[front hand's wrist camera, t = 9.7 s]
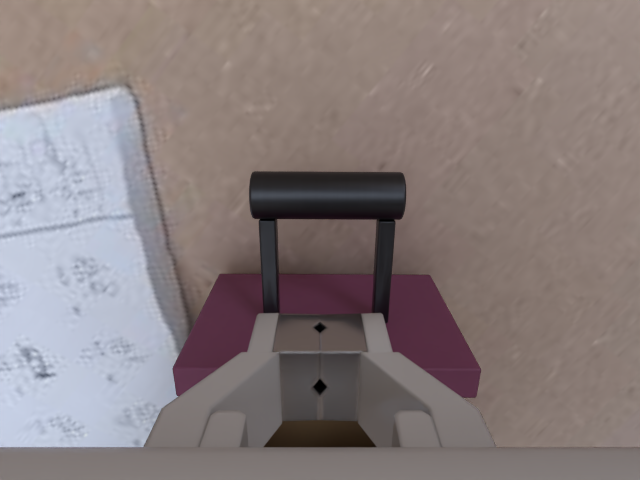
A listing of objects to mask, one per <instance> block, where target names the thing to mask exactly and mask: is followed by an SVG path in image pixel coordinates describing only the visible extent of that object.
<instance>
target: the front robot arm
mask: <svg viewBox="0 0 640 480" xmlns="http://www.w3.org/2000/svg"><path fill="white" fill-rule="evenodd" d="M311 420H328V421H358V424H359V425H360V426H361V428H362V429H363V430H364V431H365V433H366V434H367V435H368V436H369V438H370V439H371V440H372V442H373V443H374V444H375V445H376V447H264V446H265V444H266V443H267V442H268V441H269V439H270V438H271V437H272V436H273V434H274V433H275V432H276V431H277V429H278V428H279V427H280V426H281V424H282V421H311ZM0 480H640V447H496V445H495V443H494V441H493V439H492V436H491V434H490V432H489V430H488V428H487V426H486V424H485V422H484V419H483V417H482V415H481V413H480V411H479V409H478V408H476V407H475V406H474V405H472V404H471V403H469V402H468V401H467V400H465V399H464V398H462V397H461V396H460V395H458V394H457V393H455V392H454V391H453V390H451V389H450V388H448V387H447V386H446V385H444V384H443V383H441V382H440V381H439V380H437V379H436V378H434V377H433V376H432V375H430V374H429V373H427V372H426V371H425V370H423V369H422V368H420V367H419V366H418V365H416V364H415V363H413V362H412V361H411V360H409V359H408V358H406V357H405V356H403V355H402V354H401V353H399V352H393V351H392V347H391V343H390V340H389V336H388V332H387V328H386V324H385V321H384V317H383V314H382V313H363V314H361V313H360V314H292V313H280V314H279V313H259V314H258V315H257V317H256V320H255V324H254V328H253V332H252V336H251V339H250V343H249V347H248V351H247V352H241V353H239V354H238V355H237V356H235V357H234V358H232V359H231V360H229V361H228V362H227V363H225V364H224V365H222V366H221V367H220V368H218V369H217V370H215V371H214V372H213V373H211V374H210V375H208V376H207V377H206V378H204V379H203V380H201V381H200V382H199V383H197V384H196V385H194V386H193V387H191V388H190V389H189V390H187V391H186V392H184V393H183V394H182V395H180V396H179V397H177V398H176V399H175V400H173V401H172V402H170V403H169V404H168V405H166V406H165V407H163V408H162V409H161V411H160V414H159V416H158V418H157V420H156V422H155V424H154V426H153V428H152V430H151V432H150V435H149V437H148V439H147V441H146V443H145V445H144V447H0Z"/></svg>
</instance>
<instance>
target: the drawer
mask: <svg viewBox="0 0 640 480" xmlns="http://www.w3.org/2000/svg"><path fill="white" fill-rule="evenodd" d="M249 201H250V211H251V215H252V217H253V218H254V219H260V220H259V236H260V256H261V274H219V276H218V278H217V280H216V282H215V284H214V286H213V288H212V290H211V292H210V294H209V296H208V298H207V300H206V302H205V304H204V306H203V308H202V310H201V312H200V314H199V316H198V318H197V320H196V322H195V324H194V326H193V328H192V330H191V332H190V334H189V336H188V338H187V340H186V342H185V344H184V346H183V348H182V350H181V352H180V354H179V356H178V358H177V360H176V362H175V364H174V366H173V374H174V381H175V388H176V395H177V396H180V395H182V394H183V393H184V392H186V391H187V390H189V389H190V388H191V387H193V386H194V385H196V384H197V383H199V382H200V381H201V380H203V379H204V378H206V377H207V376H208V375H210V374H211V373H213V372H214V371H215V370H217V369H218V368H220V367H221V366H222V365H224V364H225V363H227V362H228V361H229V360H231V359H232V358H234V357H235V356H237V355H238V354H239V353H241V352H247V351H248V347H249V343H250V339H251V336H252V332H253V328H254V324H255V320H256V317H257V315H258V314H259V313H279V314H280V313H292V314H360V313H361V314H363V313H382V314H383V317H384V321H385V324H386V328H387V332H388V336H389V340H390V343H391V347H392V351H393V352H399V353H401V354H402V355H403V356H405V357H406V358H408V359H409V360H411V361H412V362H413V363H415V364H416V365H418V366H419V367H420V368H422V369H423V370H425V371H426V372H427V373H429V374H430V375H432V376H433V377H434V378H436V379H437V380H439V381H440V382H441V383H443V384H444V385H446V386H447V387H448V388H450V389H451V390H453V391H454V392H455V393H457V394H458V395H460V396H461V397H462V398H475V397H476V396H477V390H478V385H479V379H480V373H481V369H480V367H479V365H478V363H477V361H476V359H475V357H474V356H473V354H472V352H471V350H470V348H469V346H468V344H467V343H466V341H465V339H464V337H463V335H462V333H461V332H460V330H459V328H458V326H457V324H456V322H455V320H454V319H453V317H452V315H451V313H450V311H449V309H448V307H447V306H446V304H445V302H444V300H443V298H442V296H441V295H440V293H439V291H438V289H437V287H436V285H435V283H434V282H433V280H432V278H431V276H430V275H392V262H393V249H394V235H395V220H399V219H402V217H403V215H404V211H405V205H406V182H405V177H404V175H403V173H401V172H259V171H255V172H253V173H252V175H251V178H250V186H249ZM277 219H377V224H376V241H375V259H374V275H342V274H279V260H278V230H277ZM264 447H376V445H375V444H374V443H373V442H372V440H371V439H370V438H369V436H368V435H367V434H366V433H365V431H364V430H363V429H362V428H361V426H360V425H359V424H358V421H328V420H311V421H282V424H281V426H280V427H279V428H278V429H277V431H276V432H275V433H274V434H273V436H272V437H271V438H270V439H269V441H268V442H267V443H266V444H265V446H264Z"/></svg>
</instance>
